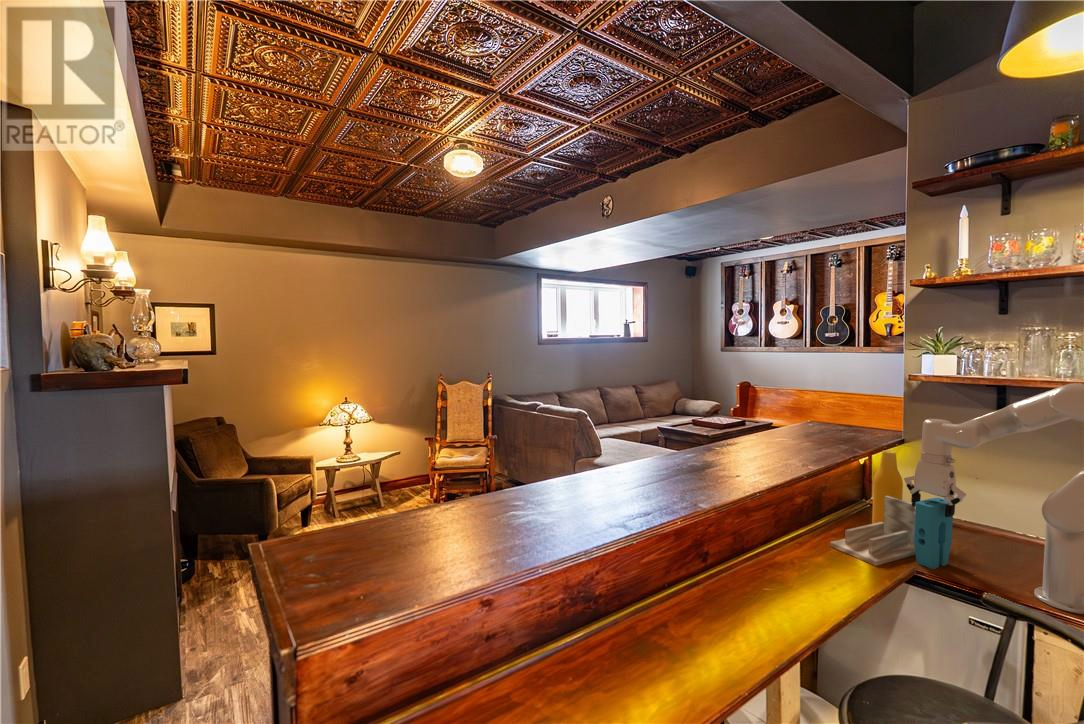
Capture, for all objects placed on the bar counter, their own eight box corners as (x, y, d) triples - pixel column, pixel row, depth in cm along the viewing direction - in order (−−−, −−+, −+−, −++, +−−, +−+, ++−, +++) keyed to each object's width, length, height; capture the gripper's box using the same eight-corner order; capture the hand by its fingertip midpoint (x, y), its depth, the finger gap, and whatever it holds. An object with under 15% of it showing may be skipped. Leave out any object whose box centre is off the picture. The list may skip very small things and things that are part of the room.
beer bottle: (866, 525, 194) (868, 450, 192) (881, 521, 198) (883, 447, 196) (891, 534, 185) (894, 455, 183) (907, 529, 189) (909, 453, 187)
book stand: (923, 552, 170) (925, 507, 169) (875, 565, 161) (877, 518, 160) (876, 534, 185) (877, 493, 184) (830, 546, 176) (831, 502, 175)
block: (934, 556, 167) (937, 497, 166) (952, 563, 162) (954, 501, 161) (911, 563, 162) (914, 502, 161) (928, 570, 158) (931, 507, 156)
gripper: (974, 464, 154) (970, 519, 155) (914, 450, 170) (911, 500, 171) (959, 467, 151) (955, 522, 152) (899, 452, 167) (896, 503, 168)
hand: (931, 511), depth 162 cm, fingers open, 9 cm apart
